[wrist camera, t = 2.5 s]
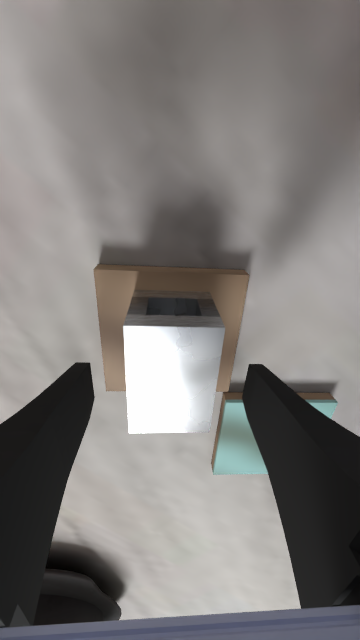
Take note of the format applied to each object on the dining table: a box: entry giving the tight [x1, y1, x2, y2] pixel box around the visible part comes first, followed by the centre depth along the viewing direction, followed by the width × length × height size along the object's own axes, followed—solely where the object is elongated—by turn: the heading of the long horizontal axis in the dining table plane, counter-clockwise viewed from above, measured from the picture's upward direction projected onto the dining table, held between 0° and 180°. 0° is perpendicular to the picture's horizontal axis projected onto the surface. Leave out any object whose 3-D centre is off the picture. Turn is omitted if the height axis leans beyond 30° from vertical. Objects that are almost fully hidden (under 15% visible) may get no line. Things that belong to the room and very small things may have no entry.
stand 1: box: [94, 264, 249, 392], centre depth 15 cm, size 8×8×1 cm
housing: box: [123, 290, 225, 433], centre depth 13 cm, size 6×4×4 cm, turn 177°
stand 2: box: [211, 392, 338, 475], centre depth 20 cm, size 8×8×1 cm
